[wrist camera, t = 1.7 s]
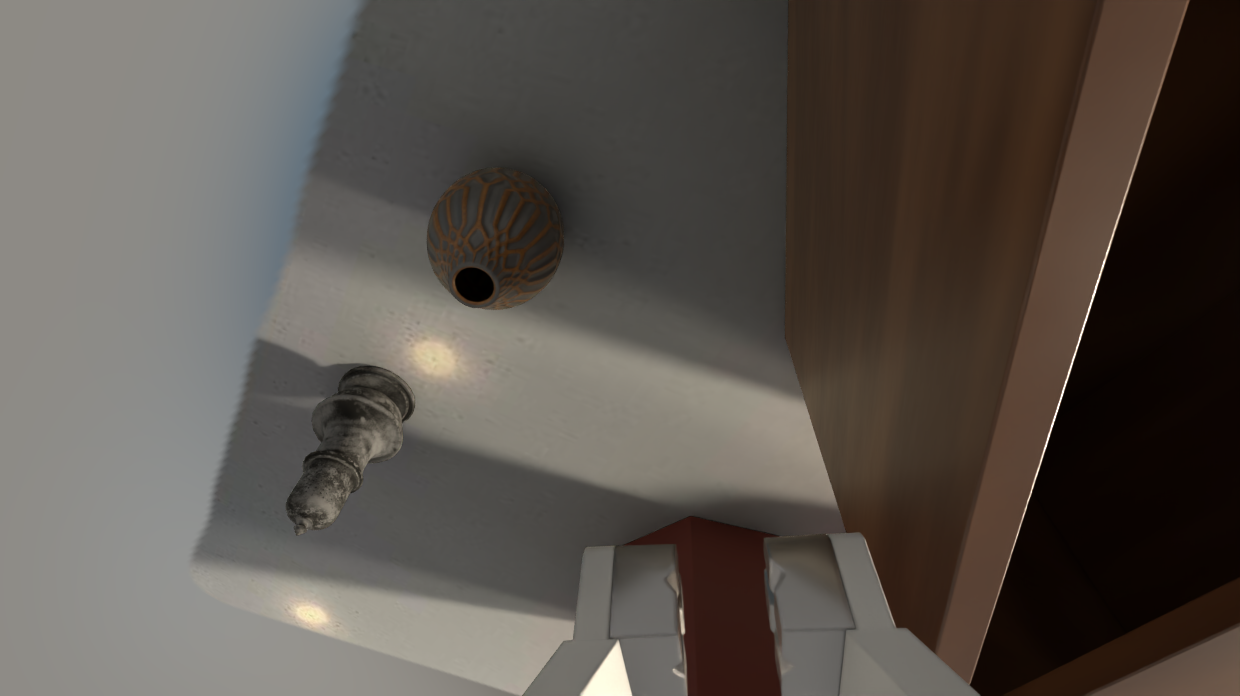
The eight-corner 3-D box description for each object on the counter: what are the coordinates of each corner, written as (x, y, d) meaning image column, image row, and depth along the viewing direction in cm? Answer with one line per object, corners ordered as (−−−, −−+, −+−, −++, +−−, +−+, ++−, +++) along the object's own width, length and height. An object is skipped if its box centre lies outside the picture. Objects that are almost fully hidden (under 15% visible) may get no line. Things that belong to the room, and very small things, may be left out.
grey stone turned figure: (374, 439, 46) (298, 580, 36) (316, 383, 44) (217, 519, 34) (436, 410, 44) (374, 550, 35) (379, 349, 42) (294, 483, 32)
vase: (530, 287, 39) (501, 372, 31) (429, 223, 37) (373, 298, 29) (594, 201, 35) (578, 273, 28) (487, 125, 33) (440, 182, 26)
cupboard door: (703, 344, 40) (750, 747, 21) (663, -178, 26) (691, -486, 6) (804, 335, 40) (952, 744, 20) (820, -207, 25) (1403, -654, 6)
